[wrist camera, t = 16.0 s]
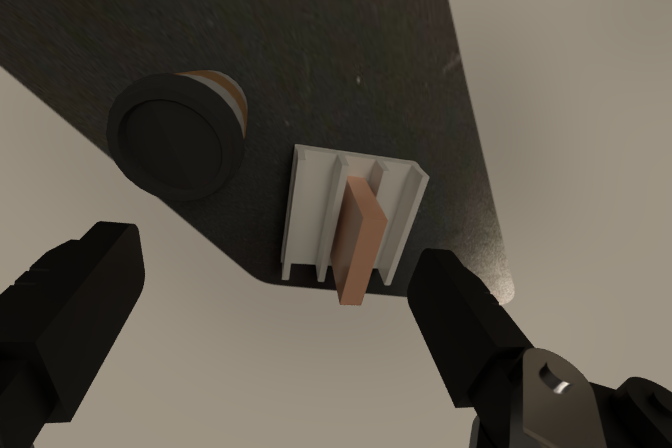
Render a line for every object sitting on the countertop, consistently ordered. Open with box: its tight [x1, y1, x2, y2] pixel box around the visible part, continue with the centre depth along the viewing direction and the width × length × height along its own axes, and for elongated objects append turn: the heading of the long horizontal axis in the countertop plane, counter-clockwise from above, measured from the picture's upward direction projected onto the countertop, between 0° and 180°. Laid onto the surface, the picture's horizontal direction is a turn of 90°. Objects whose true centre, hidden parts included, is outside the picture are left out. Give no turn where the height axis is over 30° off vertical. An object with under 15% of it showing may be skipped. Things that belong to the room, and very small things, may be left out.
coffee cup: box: [106, 70, 248, 201], centre depth 26 cm, size 8×8×15 cm
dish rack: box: [281, 144, 429, 285], centre depth 39 cm, size 16×15×5 cm
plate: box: [330, 176, 388, 305], centre depth 36 cm, size 11×2×10 cm, turn 169°
